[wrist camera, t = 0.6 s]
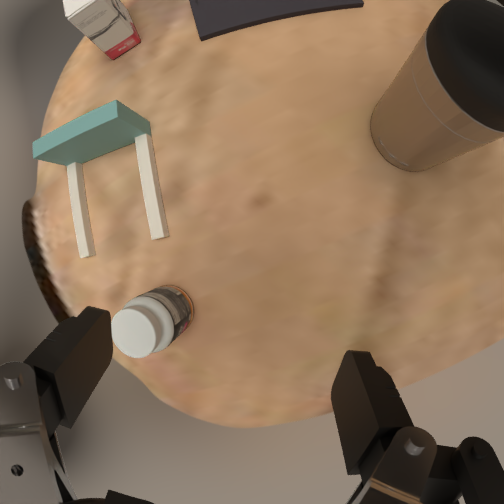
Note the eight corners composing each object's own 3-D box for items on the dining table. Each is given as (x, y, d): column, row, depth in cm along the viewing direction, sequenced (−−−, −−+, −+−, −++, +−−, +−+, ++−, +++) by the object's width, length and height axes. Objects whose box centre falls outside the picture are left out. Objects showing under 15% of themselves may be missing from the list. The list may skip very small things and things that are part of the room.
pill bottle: (170, 340, 36) (132, 374, 27) (140, 302, 36) (94, 325, 27) (205, 314, 36) (173, 344, 26) (173, 273, 36) (132, 290, 26)
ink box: (144, 41, 34) (101, -6, 22) (113, 61, 35) (63, 22, 23) (129, 7, 34) (90, -37, 22) (100, 26, 35) (57, -13, 23)
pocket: (169, 236, 35) (136, 239, 27) (87, 257, 37) (46, 264, 29) (149, 121, 35) (116, 99, 27) (72, 153, 36) (32, 142, 28)
